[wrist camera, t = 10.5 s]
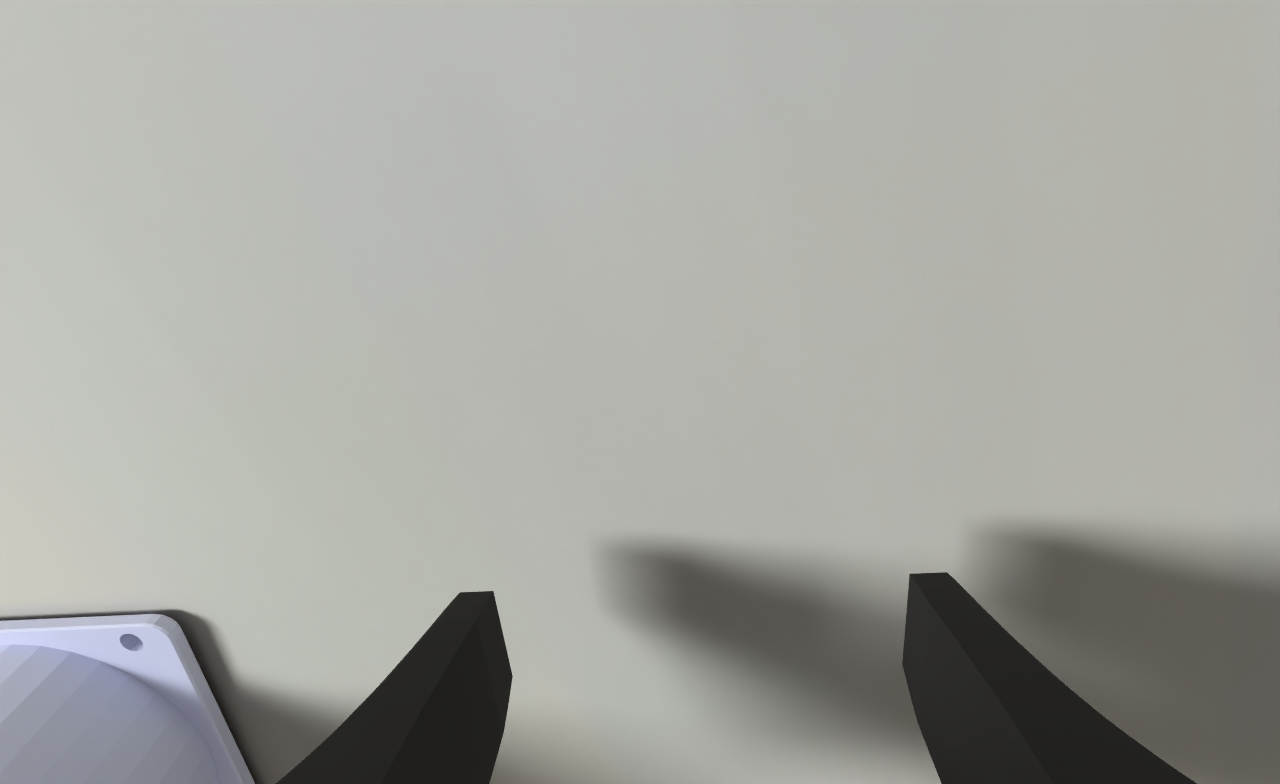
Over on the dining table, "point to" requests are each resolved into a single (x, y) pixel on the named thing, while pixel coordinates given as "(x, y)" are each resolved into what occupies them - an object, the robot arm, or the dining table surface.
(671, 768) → the dining table surface
